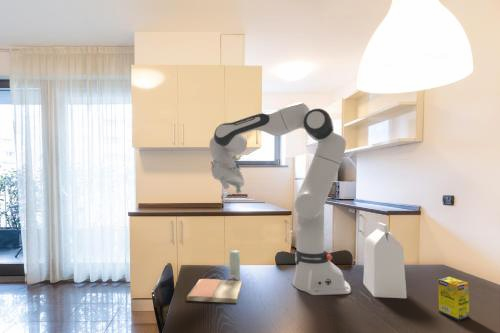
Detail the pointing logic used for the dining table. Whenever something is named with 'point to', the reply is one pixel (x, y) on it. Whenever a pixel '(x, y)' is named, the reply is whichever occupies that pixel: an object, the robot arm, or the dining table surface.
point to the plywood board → (215, 291)
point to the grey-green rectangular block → (234, 265)
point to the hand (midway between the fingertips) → (233, 190)
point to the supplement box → (453, 298)
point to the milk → (384, 264)
